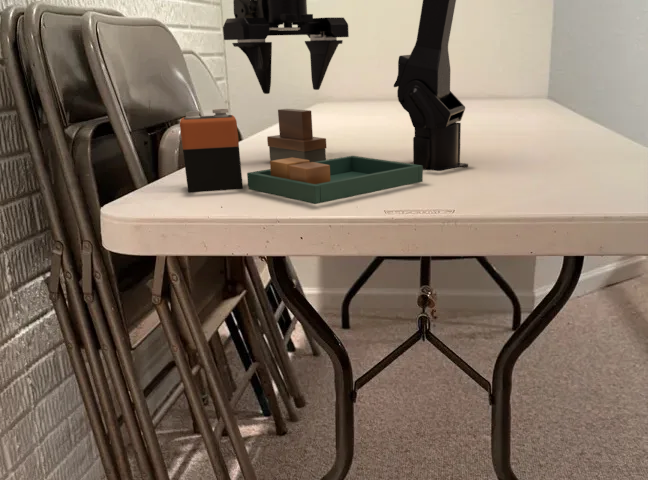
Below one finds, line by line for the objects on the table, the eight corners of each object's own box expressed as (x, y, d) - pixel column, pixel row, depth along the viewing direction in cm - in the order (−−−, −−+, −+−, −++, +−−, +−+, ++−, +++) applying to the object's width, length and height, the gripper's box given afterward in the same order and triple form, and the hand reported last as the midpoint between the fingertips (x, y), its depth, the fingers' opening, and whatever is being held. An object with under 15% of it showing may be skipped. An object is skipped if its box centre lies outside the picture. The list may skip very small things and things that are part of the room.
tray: (353, 173, 102) (352, 155, 101) (422, 185, 92) (422, 165, 91) (248, 192, 91) (246, 172, 90) (315, 208, 81) (314, 185, 80)
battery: (243, 192, 91) (235, 110, 87) (188, 196, 89) (178, 112, 86) (241, 186, 95) (234, 107, 91) (188, 189, 93) (179, 109, 90)
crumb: (314, 190, 88) (312, 161, 87) (331, 194, 86) (330, 164, 84) (290, 194, 86) (288, 165, 85) (307, 199, 83) (305, 168, 82)
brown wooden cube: (271, 189, 90) (294, 185, 92) (288, 192, 87) (311, 188, 89) (269, 160, 88) (292, 157, 91) (286, 163, 86) (309, 160, 88)
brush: (290, 159, 115) (286, 107, 112) (327, 165, 109) (324, 110, 106) (268, 162, 113) (264, 109, 110) (305, 168, 106) (302, 112, 103)
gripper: (302, -19, 112) (308, 86, 118) (196, -23, 101) (208, 93, 107) (349, -24, 105) (352, 88, 111) (240, -30, 93) (251, 96, 99)
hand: (292, 91), depth 107 cm, fingers open, 9 cm apart
